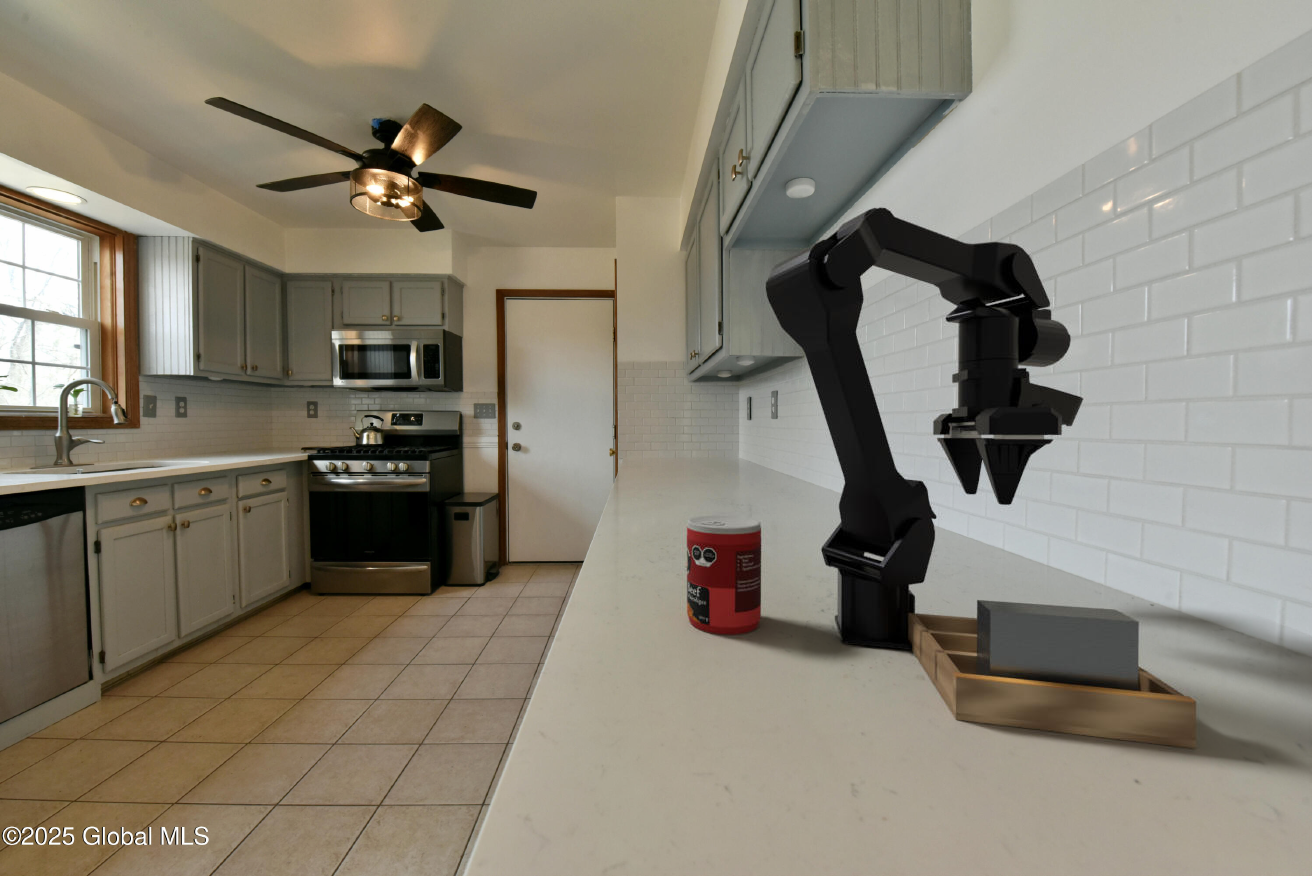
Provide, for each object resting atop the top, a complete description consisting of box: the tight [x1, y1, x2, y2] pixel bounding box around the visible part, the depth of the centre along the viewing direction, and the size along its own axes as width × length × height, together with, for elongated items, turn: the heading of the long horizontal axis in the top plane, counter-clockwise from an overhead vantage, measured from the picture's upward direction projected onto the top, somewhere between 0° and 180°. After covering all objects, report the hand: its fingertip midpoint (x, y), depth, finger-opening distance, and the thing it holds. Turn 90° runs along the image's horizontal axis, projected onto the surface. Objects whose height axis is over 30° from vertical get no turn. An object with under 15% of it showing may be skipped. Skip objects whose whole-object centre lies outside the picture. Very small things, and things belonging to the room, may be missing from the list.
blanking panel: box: [976, 599, 1140, 691], centre depth 36 cm, size 9×2×7 cm, turn 77°
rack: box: [908, 612, 1197, 749], centre depth 40 cm, size 14×13×3 cm
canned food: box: [686, 515, 762, 636], centre depth 54 cm, size 8×8×11 cm
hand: (986, 499), depth 57 cm, fingers open, 9 cm apart
